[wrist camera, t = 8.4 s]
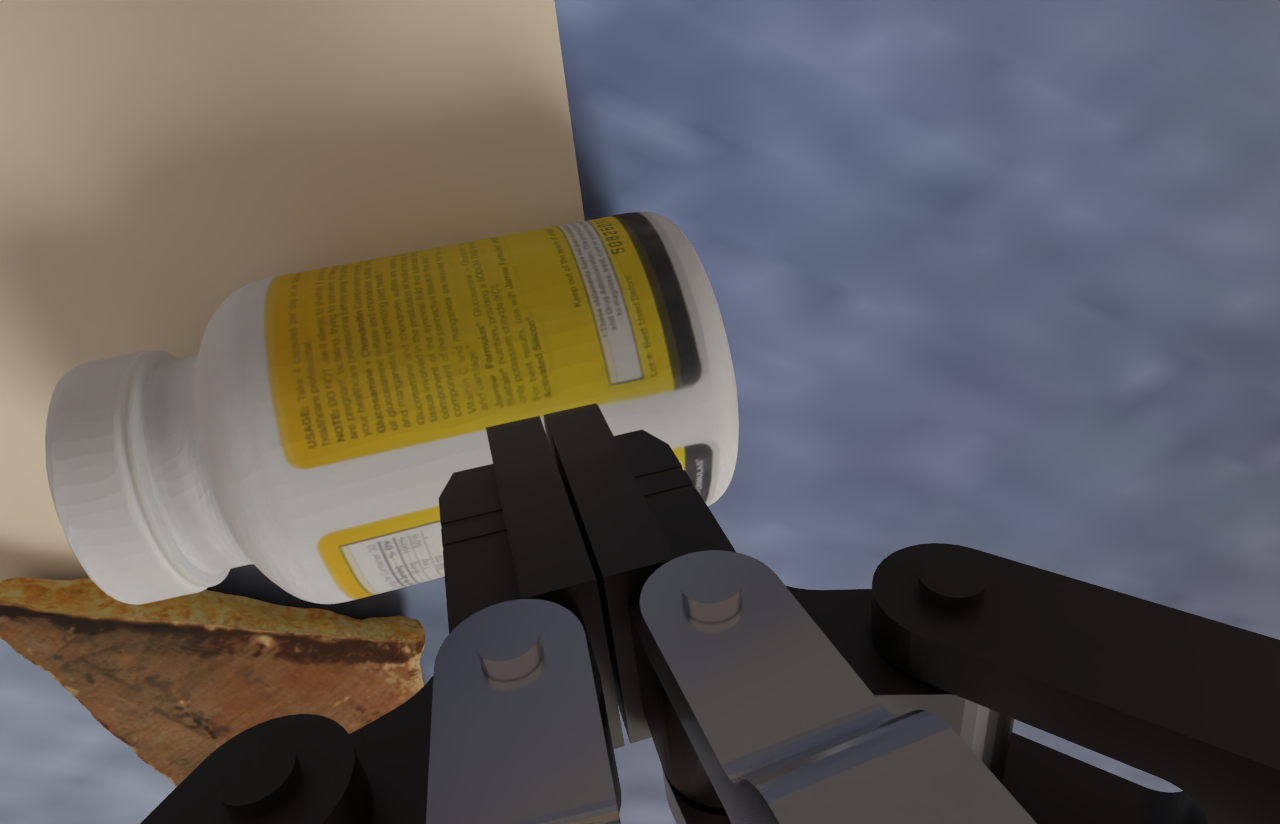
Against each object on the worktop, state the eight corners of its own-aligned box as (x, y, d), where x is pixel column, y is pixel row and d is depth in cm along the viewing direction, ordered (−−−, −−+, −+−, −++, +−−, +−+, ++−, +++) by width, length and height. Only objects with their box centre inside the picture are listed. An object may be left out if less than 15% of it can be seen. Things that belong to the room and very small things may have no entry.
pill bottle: (647, 156, 17) (69, 248, 15) (764, 311, 13) (-54, 477, 10) (655, 385, 22) (205, 483, 19) (744, 566, 17) (162, 721, 15)
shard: (-18, 559, 18) (-53, 614, 16) (301, 428, 19) (295, 470, 17) (247, 797, 24) (239, 853, 23) (480, 692, 25) (488, 740, 23)
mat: (534, -105, 16) (539, -109, 15) (612, 447, 22) (617, 458, 21) (-430, -13, 13) (-464, -15, 12) (-27, 595, 19) (-39, 610, 18)
